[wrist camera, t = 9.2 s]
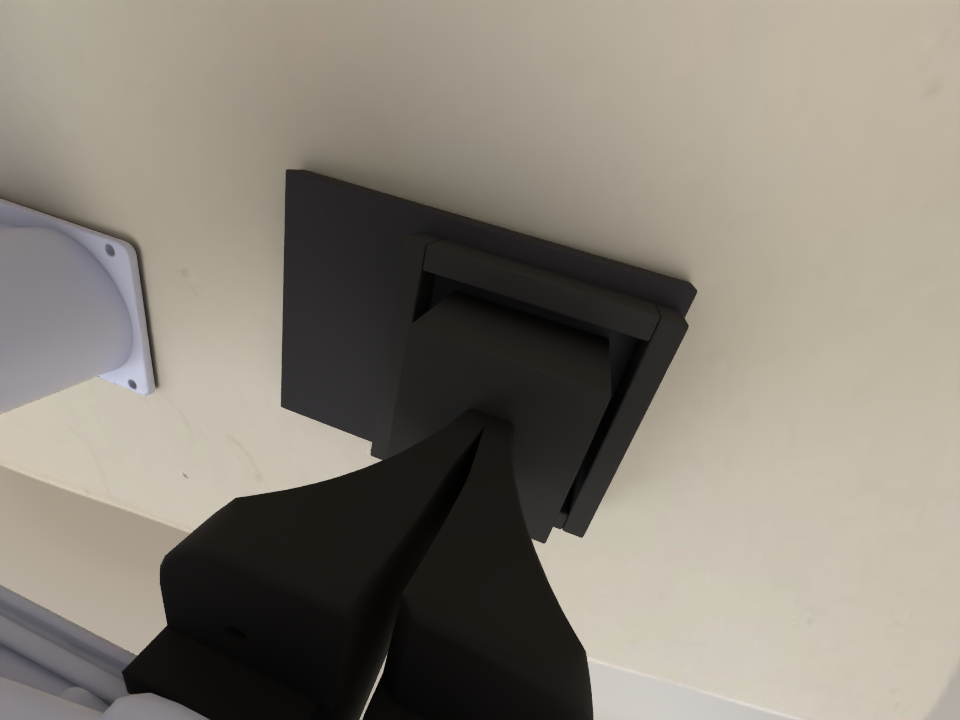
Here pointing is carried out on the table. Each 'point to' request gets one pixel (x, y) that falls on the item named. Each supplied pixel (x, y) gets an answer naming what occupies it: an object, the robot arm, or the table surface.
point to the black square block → (507, 391)
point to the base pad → (430, 279)
